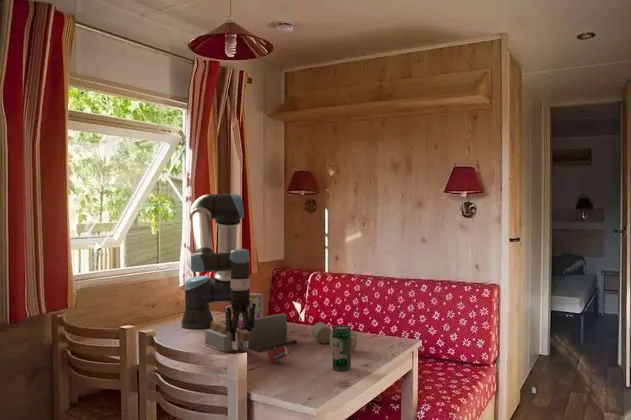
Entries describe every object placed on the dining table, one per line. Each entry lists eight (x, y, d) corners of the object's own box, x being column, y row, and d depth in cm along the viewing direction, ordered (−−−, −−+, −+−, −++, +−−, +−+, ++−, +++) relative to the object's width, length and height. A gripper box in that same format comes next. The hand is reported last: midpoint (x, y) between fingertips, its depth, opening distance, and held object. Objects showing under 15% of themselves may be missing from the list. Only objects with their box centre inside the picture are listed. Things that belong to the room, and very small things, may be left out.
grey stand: (205, 344, 224) (205, 330, 224) (221, 341, 229) (221, 327, 229) (223, 352, 212) (223, 337, 212) (240, 348, 217) (240, 333, 217)
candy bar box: (237, 328, 251) (237, 294, 250) (241, 326, 255) (241, 292, 255) (259, 330, 248) (259, 295, 247) (263, 327, 252) (263, 293, 252)
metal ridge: (238, 345, 223) (238, 317, 222) (277, 336, 236) (277, 311, 235) (257, 352, 212) (257, 323, 212) (296, 343, 225) (296, 316, 225)
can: (329, 368, 191) (329, 327, 191) (341, 365, 195) (341, 324, 195) (342, 372, 187) (342, 329, 186) (353, 368, 191) (353, 327, 191)
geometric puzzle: (265, 360, 194) (278, 342, 195) (261, 355, 200) (274, 337, 201) (280, 371, 195) (293, 352, 197) (276, 365, 202) (289, 347, 203)
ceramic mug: (317, 345, 222) (317, 326, 222) (311, 340, 230) (311, 322, 230) (341, 343, 225) (341, 325, 225) (334, 338, 233) (334, 321, 233)
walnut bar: (210, 329, 225) (210, 322, 225) (216, 328, 227) (216, 321, 227) (244, 341, 205) (244, 333, 205) (250, 340, 207) (250, 332, 207)
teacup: (325, 349, 216) (325, 329, 216) (350, 346, 220) (350, 327, 220) (339, 358, 203) (339, 337, 203) (365, 355, 207) (365, 335, 207)
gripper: (226, 292, 201) (226, 354, 202) (263, 287, 213) (263, 346, 213) (216, 290, 207) (216, 350, 208) (253, 285, 218) (253, 342, 219)
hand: (240, 348), depth 210 cm, fingers open, 4 cm apart
